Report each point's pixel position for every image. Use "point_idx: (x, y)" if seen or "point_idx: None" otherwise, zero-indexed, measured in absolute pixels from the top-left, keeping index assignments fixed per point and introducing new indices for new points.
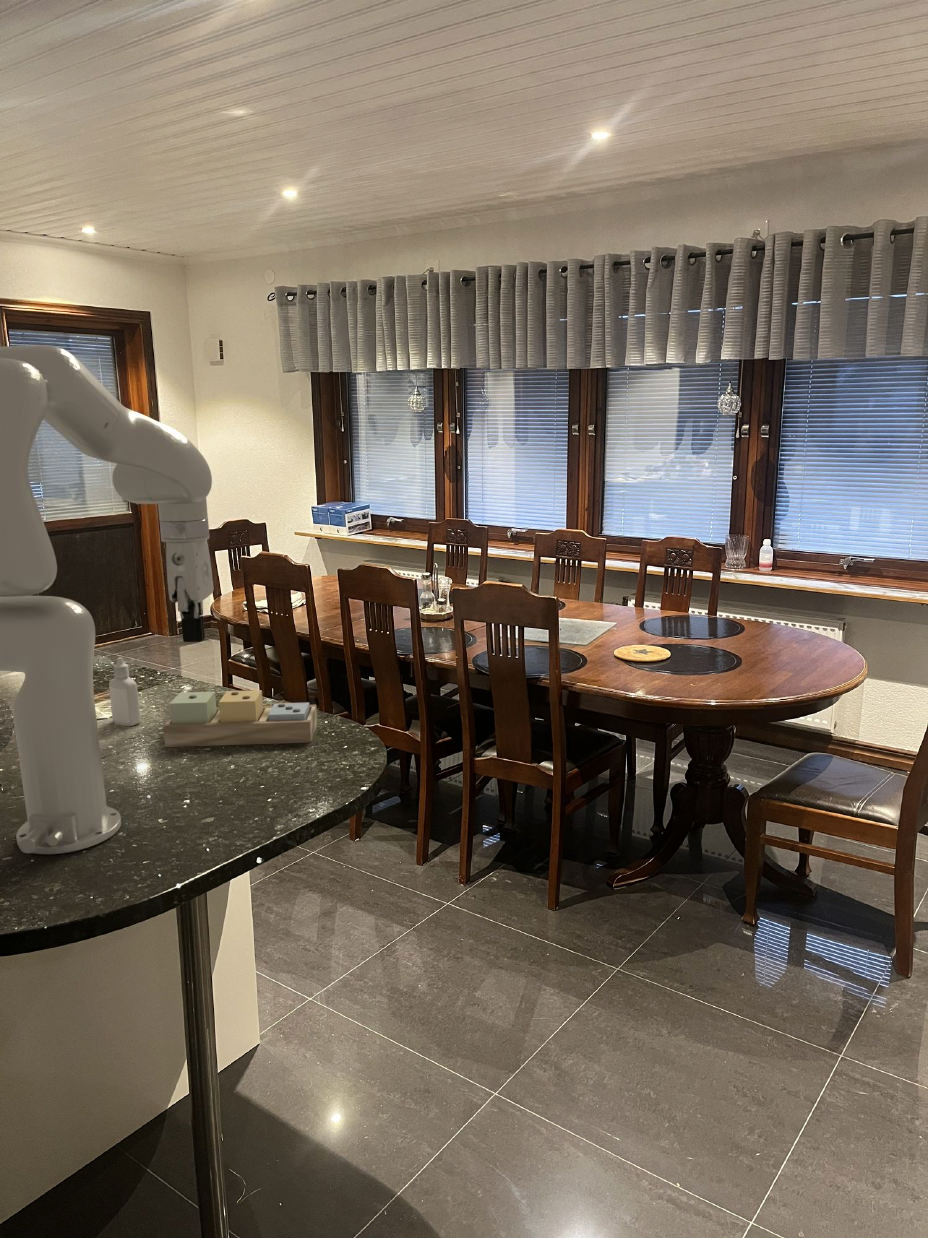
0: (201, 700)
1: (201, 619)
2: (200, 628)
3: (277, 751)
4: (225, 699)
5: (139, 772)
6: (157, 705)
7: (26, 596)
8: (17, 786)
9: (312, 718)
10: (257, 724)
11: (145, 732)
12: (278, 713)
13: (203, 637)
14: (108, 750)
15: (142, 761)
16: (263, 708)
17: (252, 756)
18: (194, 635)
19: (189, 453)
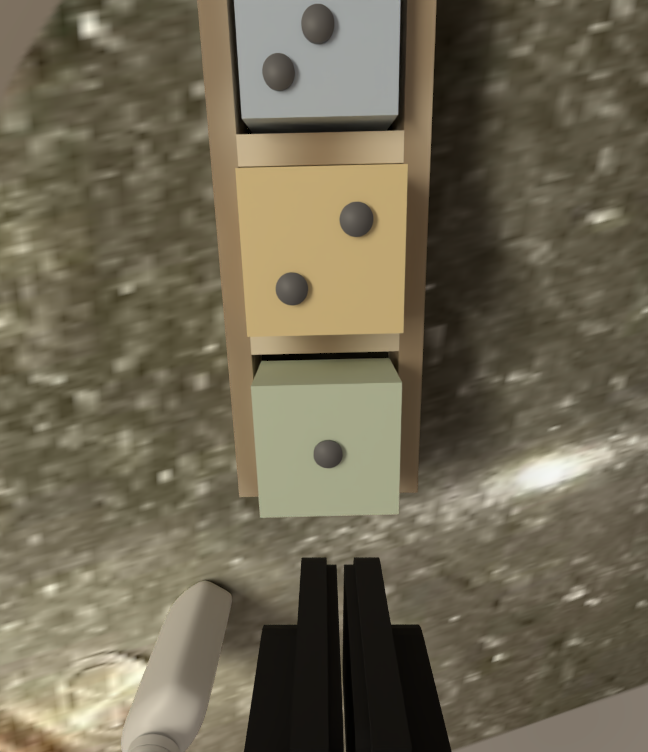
0: (373, 409)
1: (374, 725)
2: (390, 647)
3: (493, 83)
4: (369, 312)
5: (587, 468)
6: (40, 582)
7: None
8: (610, 686)
9: None
10: (428, 162)
11: (279, 544)
12: (385, 67)
13: (321, 569)
14: (412, 587)
15: (507, 484)
16: None
17: (525, 168)
18: (420, 639)
19: None
